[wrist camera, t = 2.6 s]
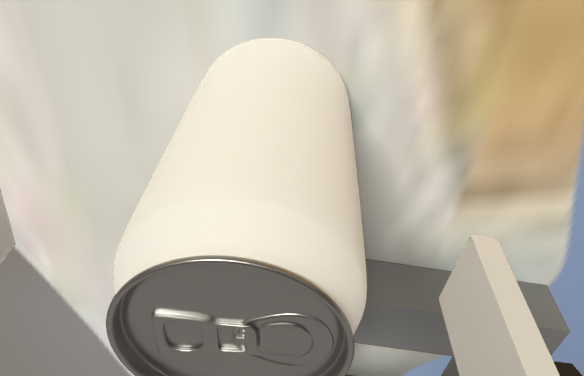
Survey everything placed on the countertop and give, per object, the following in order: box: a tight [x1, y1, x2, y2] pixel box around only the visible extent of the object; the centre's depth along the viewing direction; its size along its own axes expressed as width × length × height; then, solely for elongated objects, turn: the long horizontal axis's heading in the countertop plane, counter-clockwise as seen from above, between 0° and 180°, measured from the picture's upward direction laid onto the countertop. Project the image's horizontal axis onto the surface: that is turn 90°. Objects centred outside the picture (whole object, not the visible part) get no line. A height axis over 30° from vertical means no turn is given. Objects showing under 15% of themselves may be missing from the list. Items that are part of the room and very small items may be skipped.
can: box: [106, 38, 367, 376], centre depth 16 cm, size 6×6×12 cm
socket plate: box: [345, 259, 570, 376], centre depth 28 cm, size 18×14×4 cm
